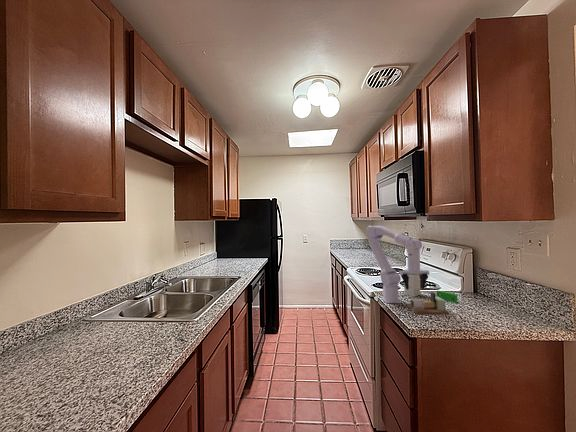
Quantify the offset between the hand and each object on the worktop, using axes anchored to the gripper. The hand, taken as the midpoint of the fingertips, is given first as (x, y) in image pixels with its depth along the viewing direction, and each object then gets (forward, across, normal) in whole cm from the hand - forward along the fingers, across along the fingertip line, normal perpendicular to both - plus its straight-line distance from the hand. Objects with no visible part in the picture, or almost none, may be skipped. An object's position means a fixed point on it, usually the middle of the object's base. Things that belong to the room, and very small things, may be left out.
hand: (414, 288), depth 141 cm
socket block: (+9, +10, -3) cm, 14 cm away
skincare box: (+10, +9, +25) cm, 28 cm away
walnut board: (+10, +4, -3) cm, 11 cm away
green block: (+10, +24, +12) cm, 28 cm away
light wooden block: (+8, +6, -3) cm, 11 cm away
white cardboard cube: (+9, 0, -3) cm, 9 cm away
